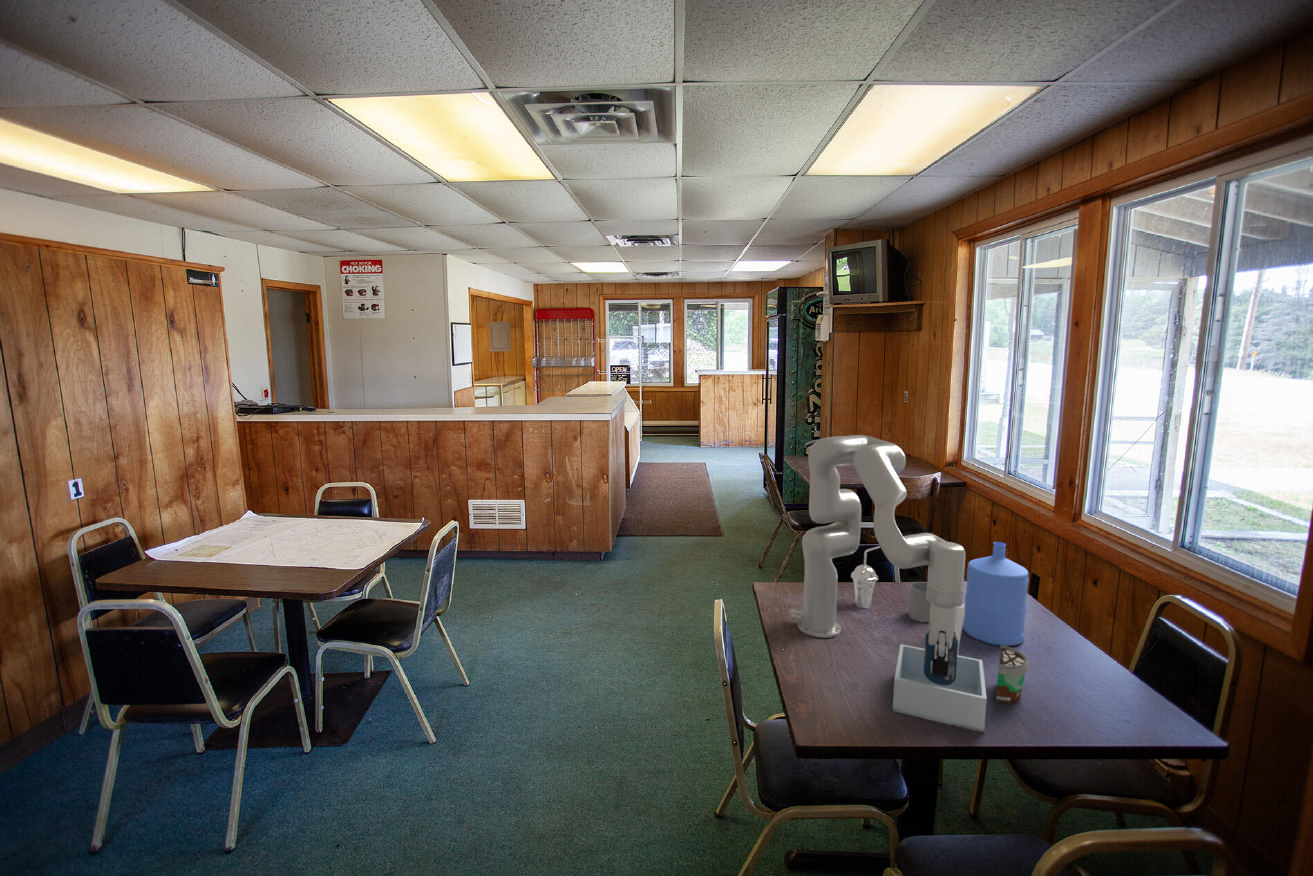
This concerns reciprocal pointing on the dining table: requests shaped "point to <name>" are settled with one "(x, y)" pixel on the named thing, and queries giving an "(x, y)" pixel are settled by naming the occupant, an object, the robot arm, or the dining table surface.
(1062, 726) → the dining table surface
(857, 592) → the cup with straw
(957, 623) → the drinking glass
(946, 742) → the dining table surface
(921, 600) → the cup
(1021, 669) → the food container
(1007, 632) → the water jug
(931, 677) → the soda can
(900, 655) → the open storage bin
